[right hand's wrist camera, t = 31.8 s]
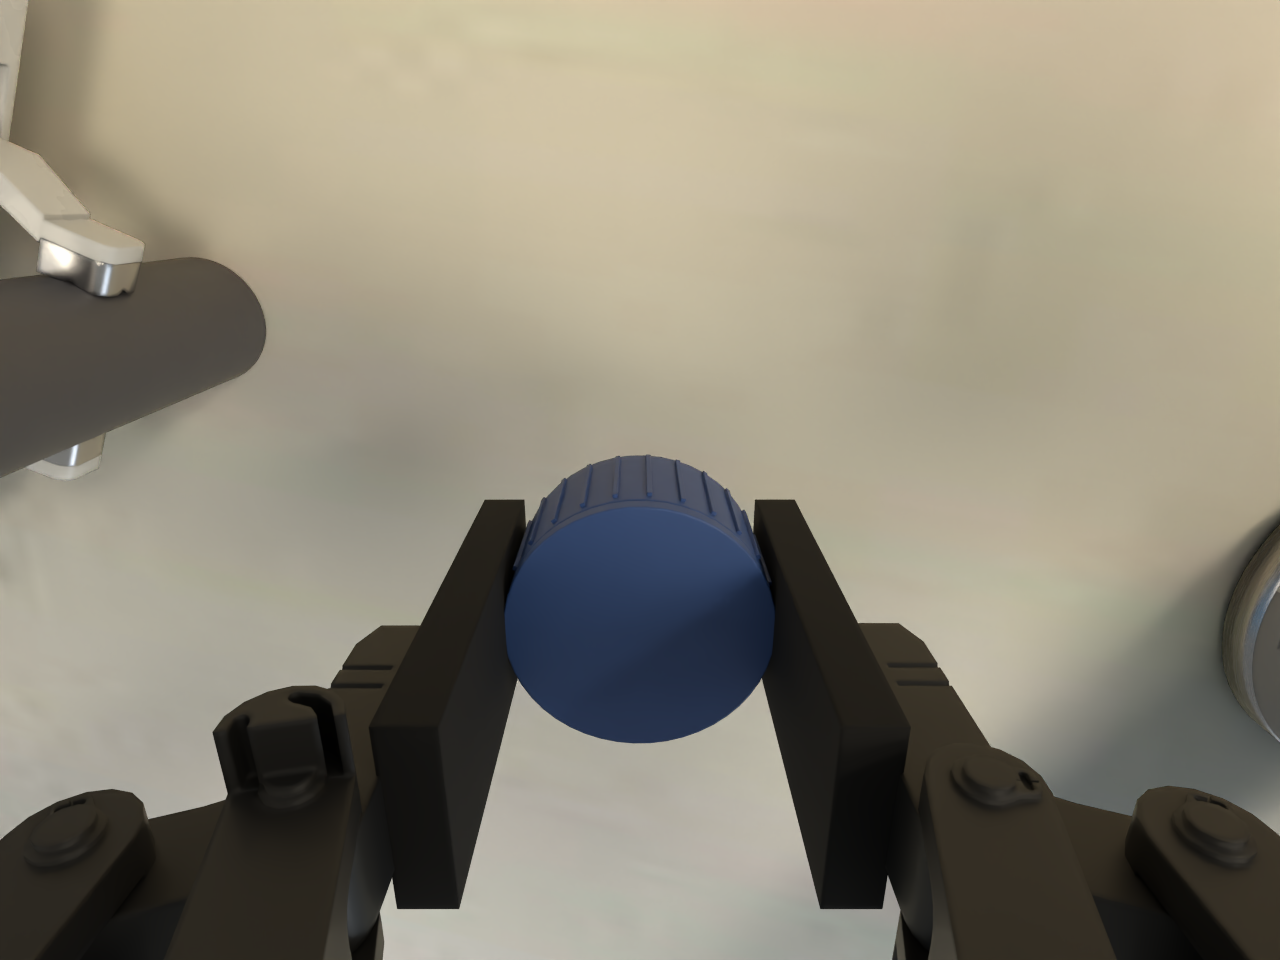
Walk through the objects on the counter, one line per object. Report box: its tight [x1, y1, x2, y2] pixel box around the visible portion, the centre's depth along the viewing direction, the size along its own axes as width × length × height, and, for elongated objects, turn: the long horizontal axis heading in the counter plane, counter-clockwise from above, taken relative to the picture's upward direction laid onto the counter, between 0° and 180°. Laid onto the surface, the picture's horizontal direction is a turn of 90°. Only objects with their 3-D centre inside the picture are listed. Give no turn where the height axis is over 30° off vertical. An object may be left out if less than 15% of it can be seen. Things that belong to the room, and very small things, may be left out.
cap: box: [504, 455, 775, 743], centre depth 13 cm, size 5×5×2 cm
